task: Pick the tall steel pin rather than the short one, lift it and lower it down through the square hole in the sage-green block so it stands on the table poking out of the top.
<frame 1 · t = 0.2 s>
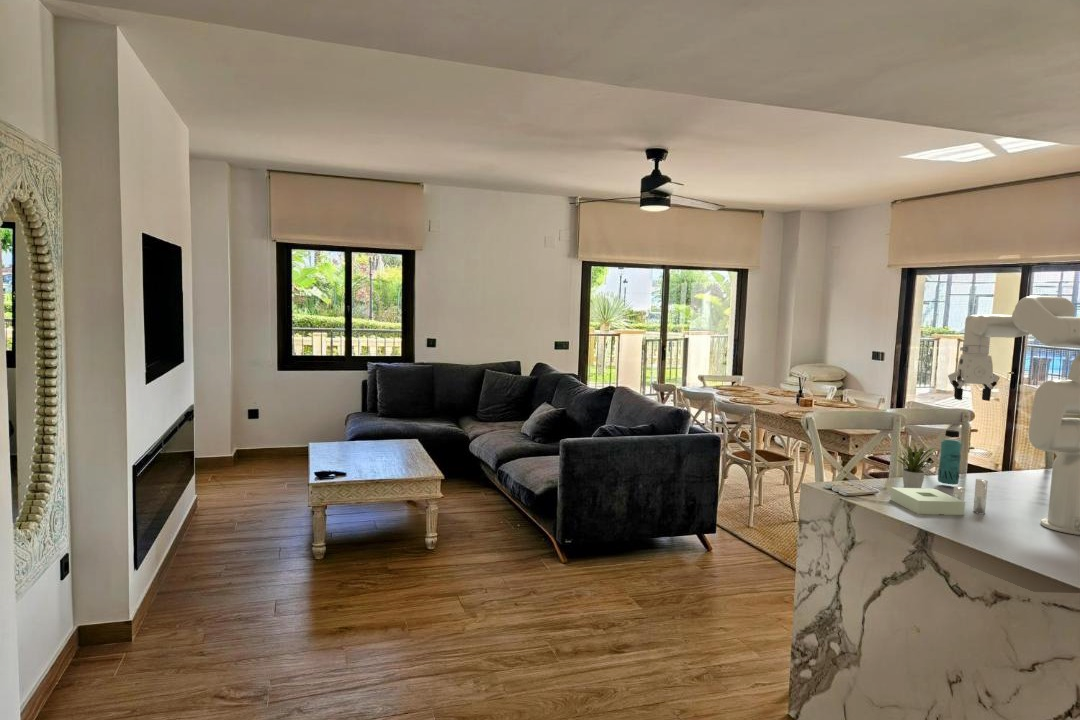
hand: (972, 399, 230), 31 cm above the countertop, tool pointing down, fingers open, 9 cm apart
beverage bottle: (947, 487, 233), on the countertop
short pin: (958, 502, 212), on the countertop
hole block: (925, 507, 205), on the countertop
house plant: (916, 489, 227), on the countertop
tall pin: (979, 512, 202), on the countertop
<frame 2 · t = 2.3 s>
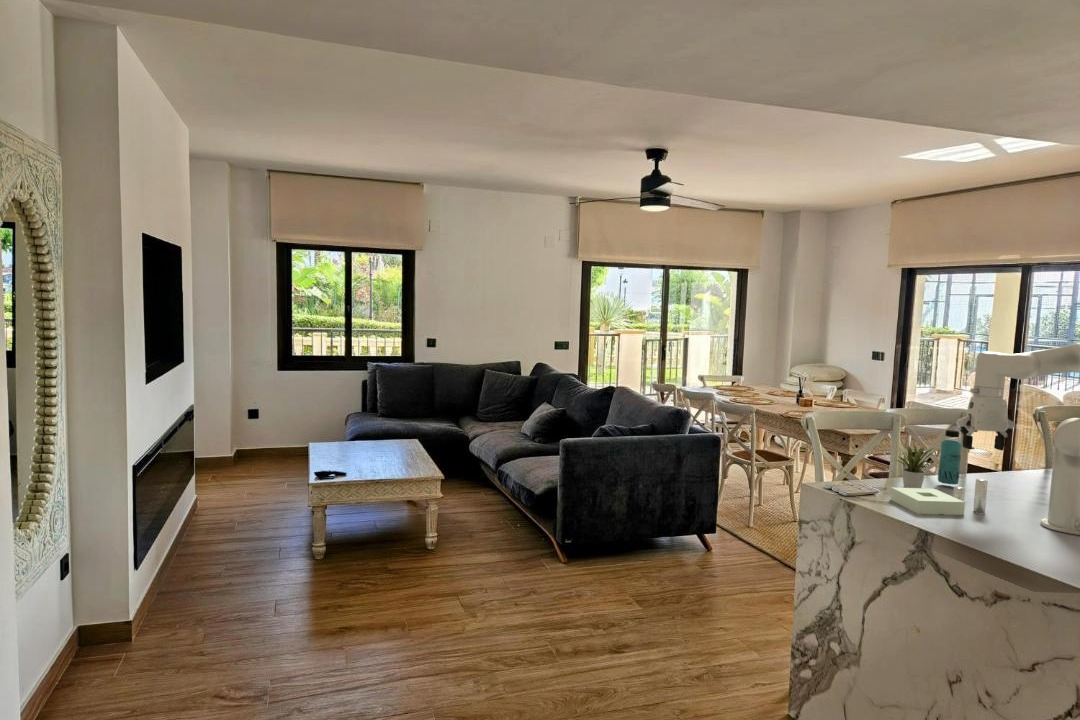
hand: (982, 448, 200), 20 cm above the countertop, tool pointing down, fingers open, 9 cm apart
nothing on the countertop moved.
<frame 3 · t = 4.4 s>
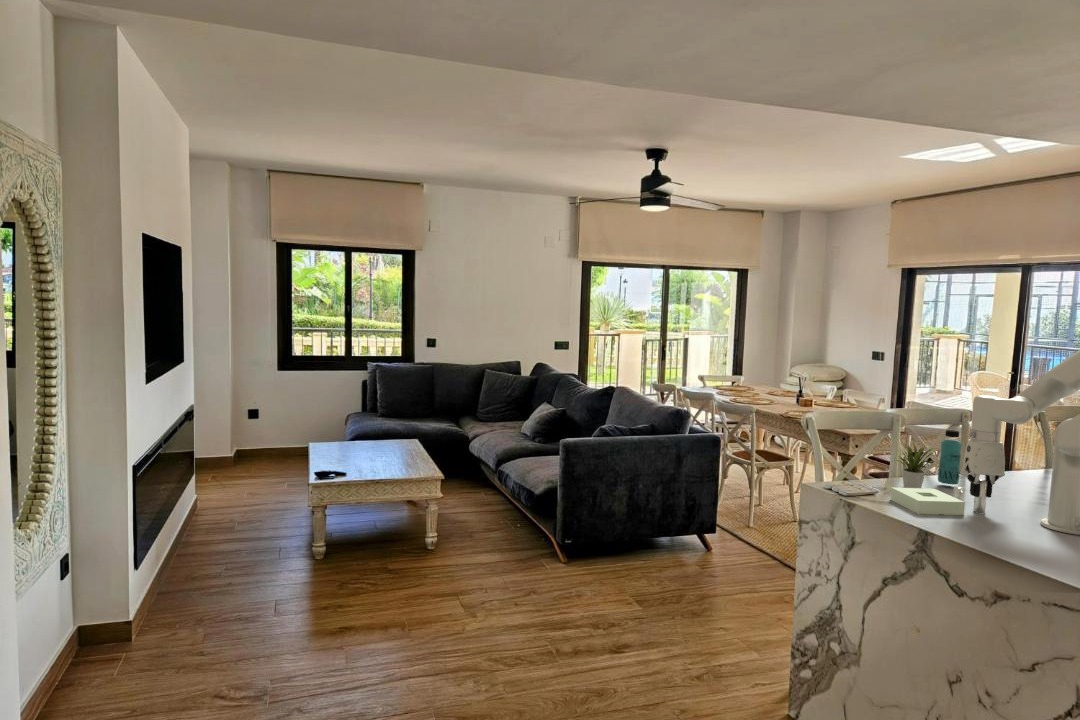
hand: (980, 495, 201), 5 cm above the countertop, tool pointing down, fingers closed on tall pin, 3 cm apart
tall pin: (979, 512, 202), on the countertop, touching gripper
everything else where it was.
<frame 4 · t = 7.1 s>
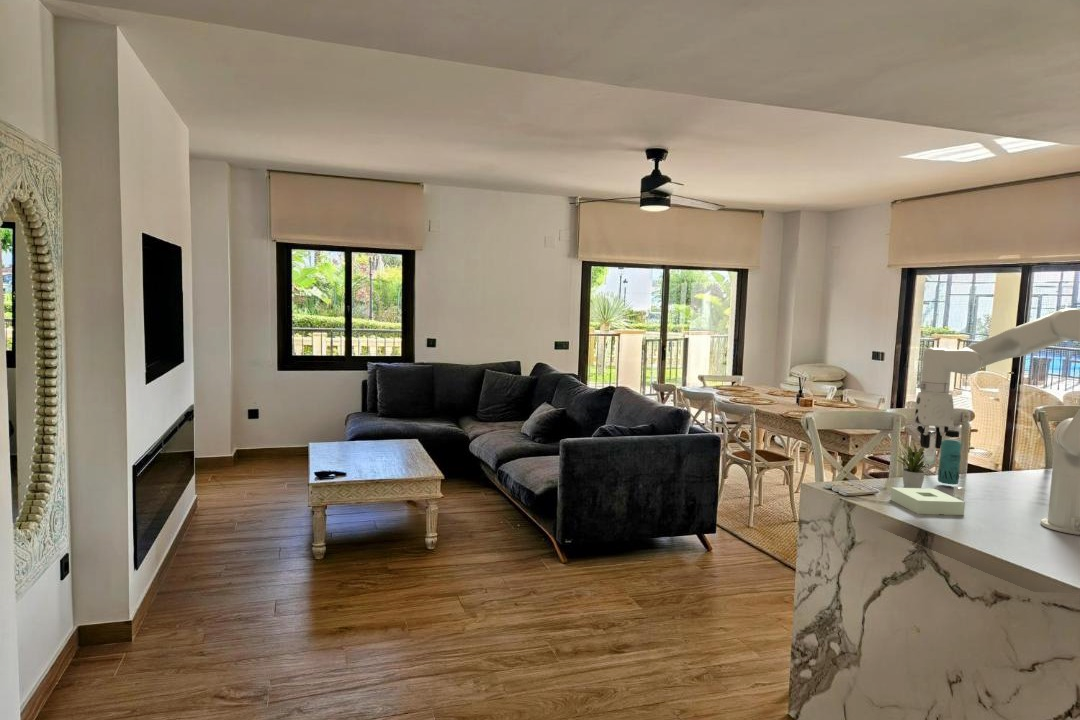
hand: (930, 446, 204), 19 cm above the countertop, tool pointing down, fingers closed on tall pin, 3 cm apart
tall pin: (929, 463, 204), point 14 cm above the countertop, touching gripper
everything else where it was.
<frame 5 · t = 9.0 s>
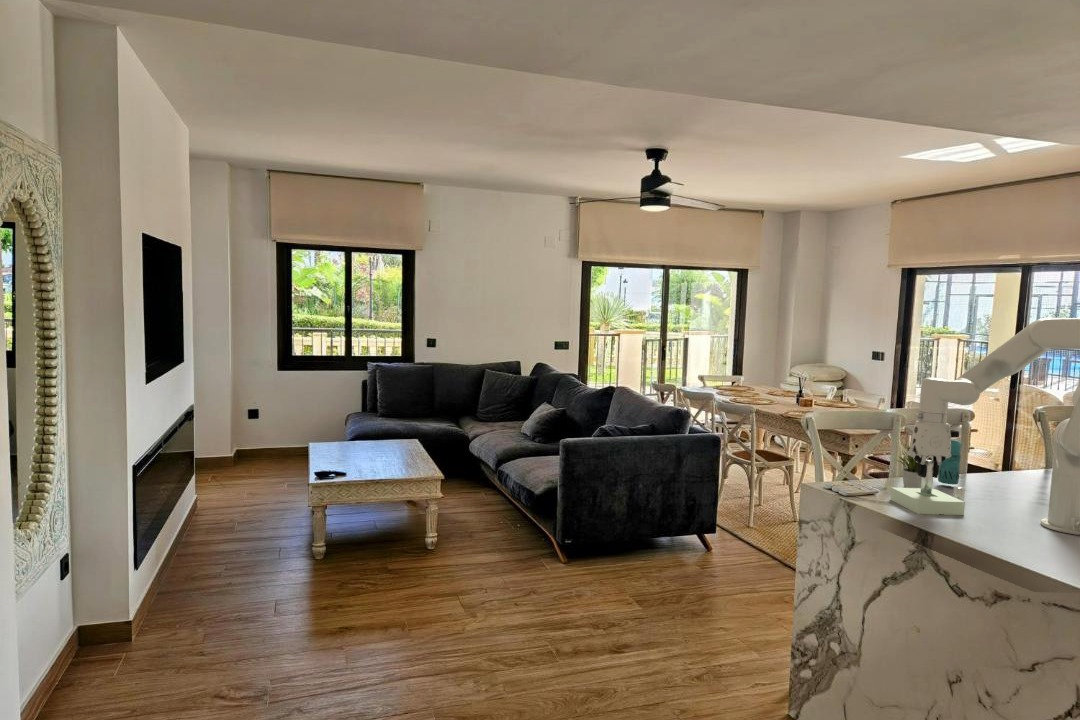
hand: (927, 476, 205), 10 cm above the countertop, tool pointing down, fingers closed on tall pin, 3 cm apart
tall pin: (925, 492, 205), point 5 cm above the countertop, touching gripper
everything else where it was.
when the fingers open (6 cm above the countertop, at t = 10.2 s): tall pin stays where it is, resting in hole block.
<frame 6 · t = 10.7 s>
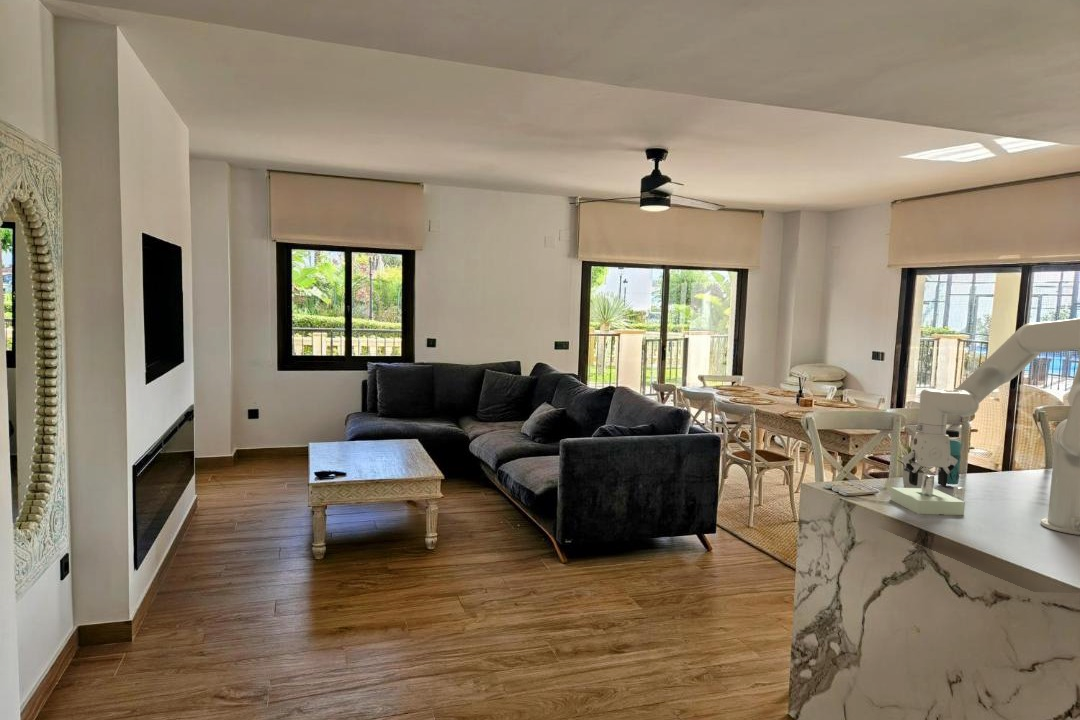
hand: (927, 484, 205), 7 cm above the countertop, tool pointing down, fingers open, 8 cm apart
tall pin: (926, 507, 205), resting in hole block
everything else where it was.
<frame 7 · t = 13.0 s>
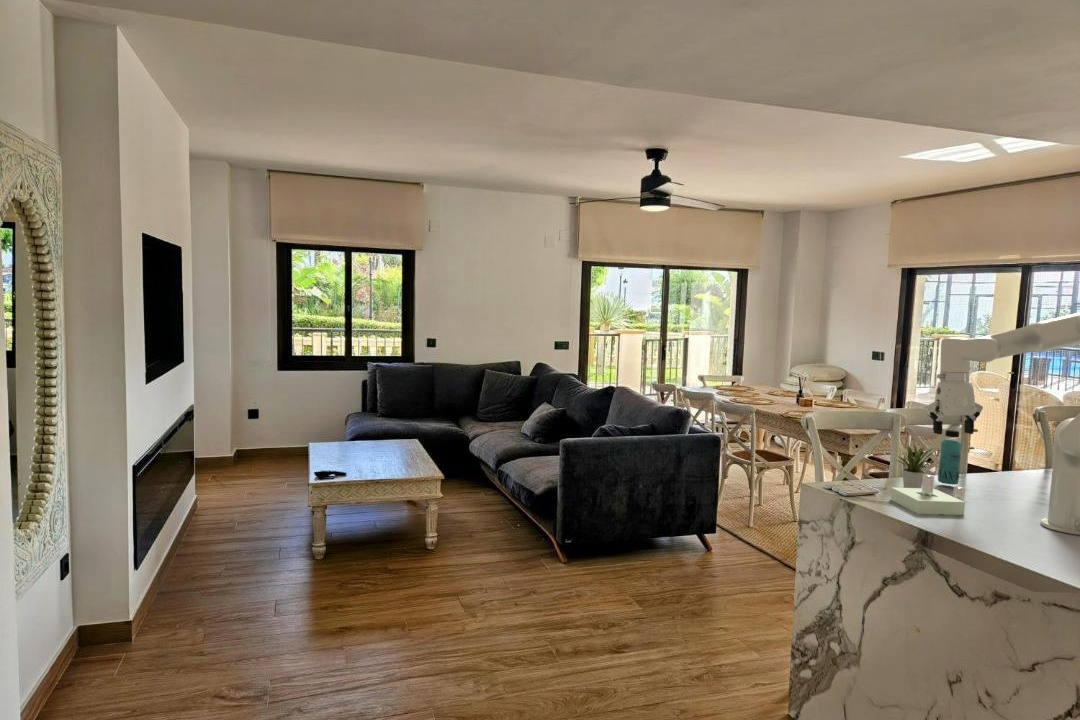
hand: (953, 433, 203), 24 cm above the countertop, tool pointing down, fingers open, 9 cm apart
nothing on the countertop moved.
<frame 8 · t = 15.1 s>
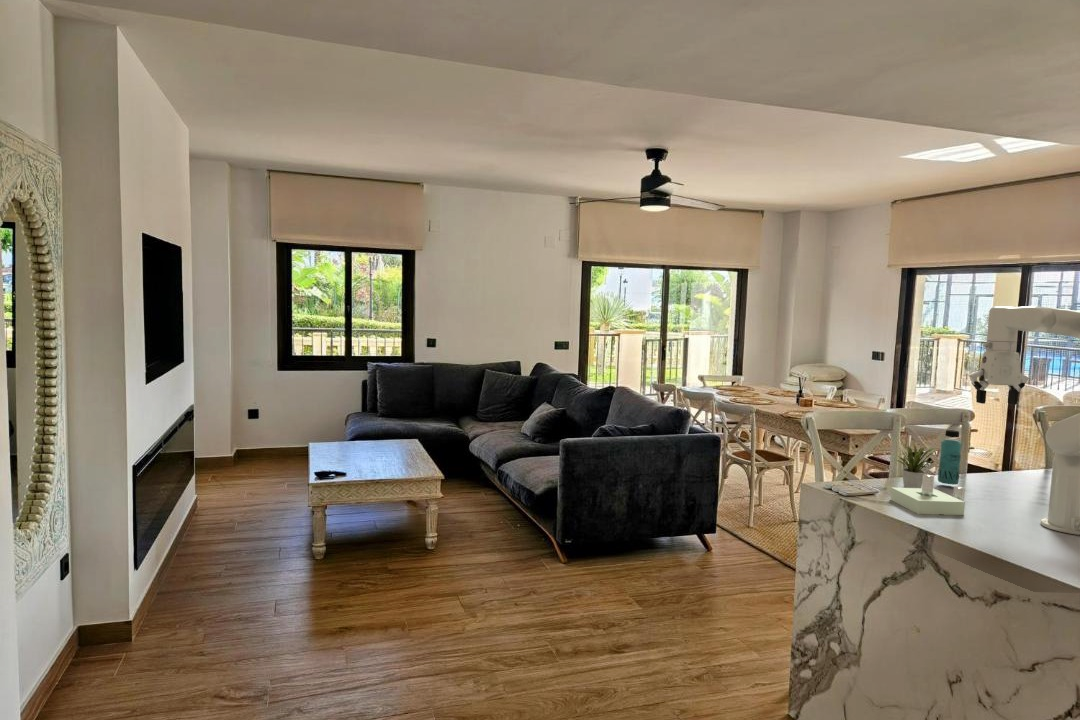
hand: (996, 403, 201), 33 cm above the countertop, tool pointing down, fingers open, 9 cm apart
nothing on the countertop moved.
at the end: tall pin 0.1 cm off-centre on the hole block, point 0.0 cm above the hole block's base; tall pin tilted 0°; short pin moved 0.0 cm from its start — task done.
